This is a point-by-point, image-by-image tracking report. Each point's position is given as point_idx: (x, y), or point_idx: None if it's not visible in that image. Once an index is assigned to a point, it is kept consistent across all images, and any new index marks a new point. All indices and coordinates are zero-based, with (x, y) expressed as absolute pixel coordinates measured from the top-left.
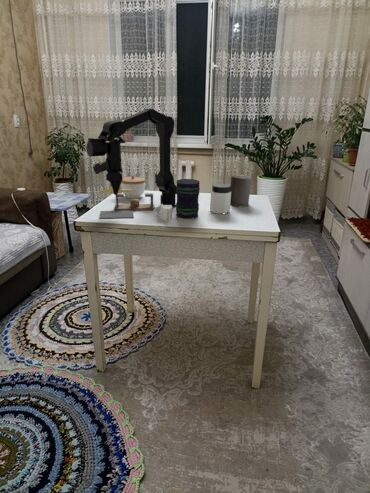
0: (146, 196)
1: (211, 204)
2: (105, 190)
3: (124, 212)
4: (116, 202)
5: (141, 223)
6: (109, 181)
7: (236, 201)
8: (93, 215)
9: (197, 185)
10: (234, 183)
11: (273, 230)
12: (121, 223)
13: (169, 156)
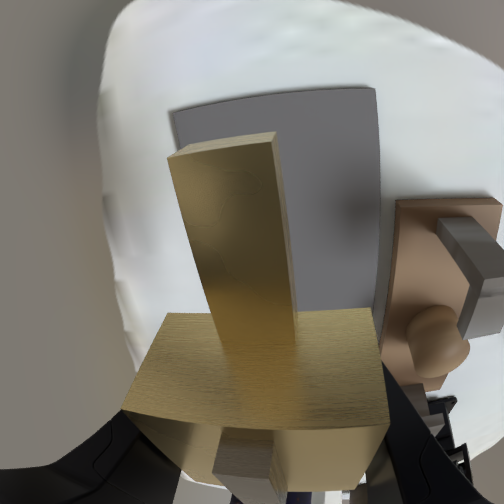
0: None
1: None
2: (204, 284)
3: (326, 274)
4: (454, 241)
5: (151, 340)
6: (16, 470)
7: (354, 496)
8: (264, 43)
9: None
10: None
11: (192, 481)
12: (122, 263)
13: None
